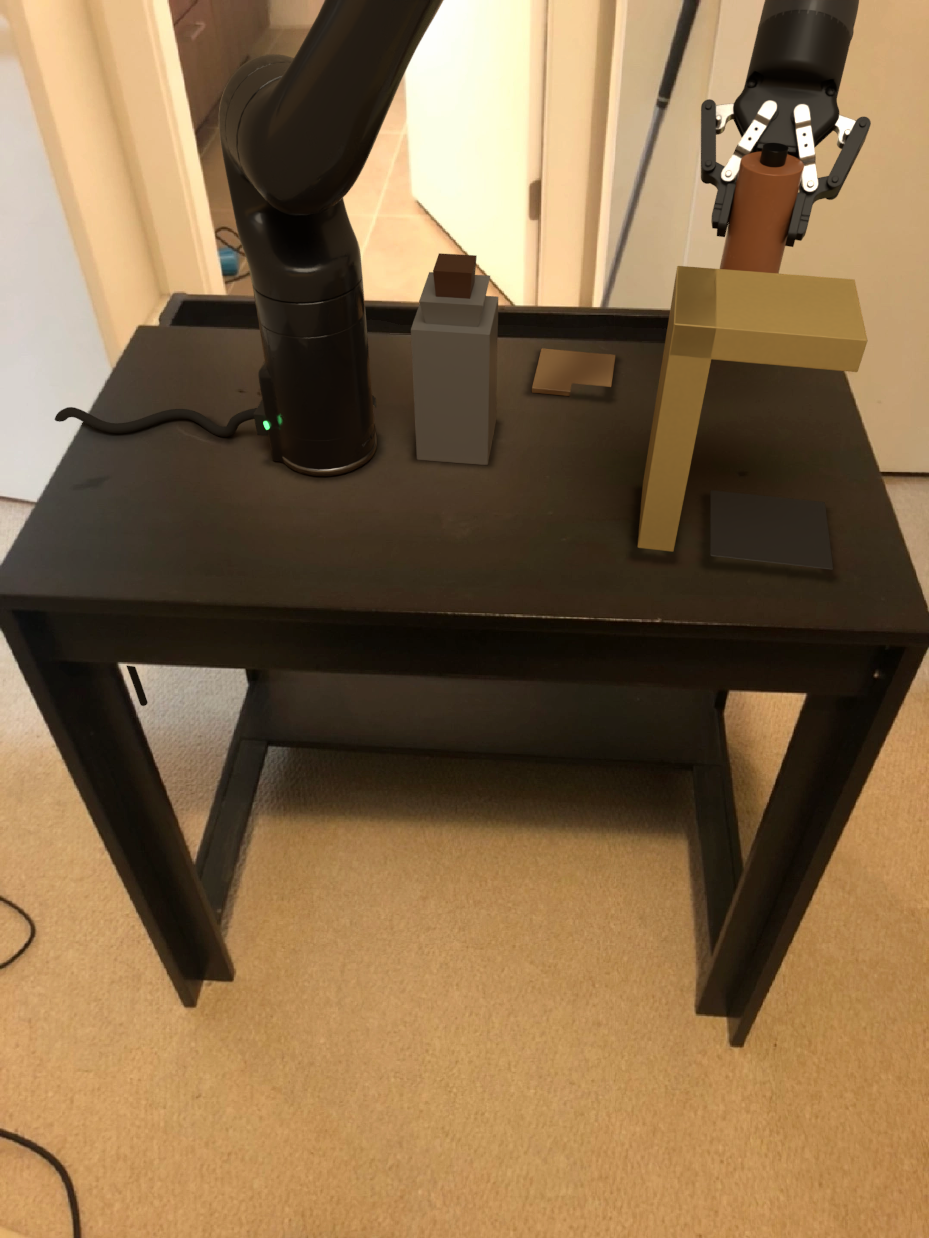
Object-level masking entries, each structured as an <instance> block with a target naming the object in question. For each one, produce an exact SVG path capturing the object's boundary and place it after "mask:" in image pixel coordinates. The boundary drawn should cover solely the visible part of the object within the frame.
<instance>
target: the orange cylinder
mask: <svg viewBox="0 0 929 1238" xmlns="http://www.w3.org/2000/svg"><path fill="white" fill-rule="evenodd" d="M788 149H789V148H788V147H787V146H786V145H784V144H781V143H766V144H764V145H763V148H762V152H754V153H750V154H747V155H745V156H743V157H742V159H741V161H740V166H739V171H738V176H737V182H736V187H735V192H734V197H733V202H732V207H731V212H730V218H729V223H728V227H727V231H726V235H725V237H724V245H723V248H722V254H721V259H720V264H719V269H726V270H739V271H752V272H765V273H778V274H780V270H781V265H782V260H783V258H784V257H783V256H784V253H785V249H786V246H785V244H786V239H787V235H788V231H789V227H790V223H791V218H792V214H793V210H794V206H795V202H796V198H797V194H798V192H799V187H800V183H801V178H802V174H803V170H804V164H803V162H802V161H801V160H799V159H798V158H796V157H794V156H791V155H788Z"/></svg>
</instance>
